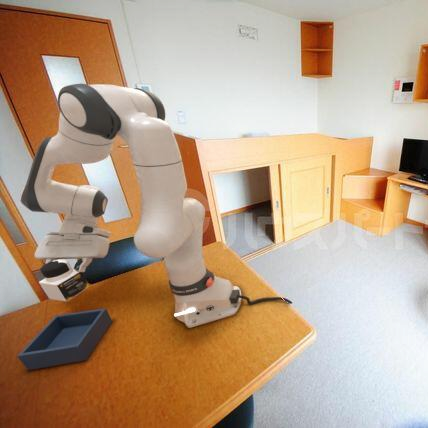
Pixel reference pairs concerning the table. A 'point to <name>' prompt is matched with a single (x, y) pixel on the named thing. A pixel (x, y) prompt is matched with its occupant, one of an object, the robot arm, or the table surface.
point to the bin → (66, 339)
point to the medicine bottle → (62, 280)
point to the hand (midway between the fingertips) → (65, 272)
